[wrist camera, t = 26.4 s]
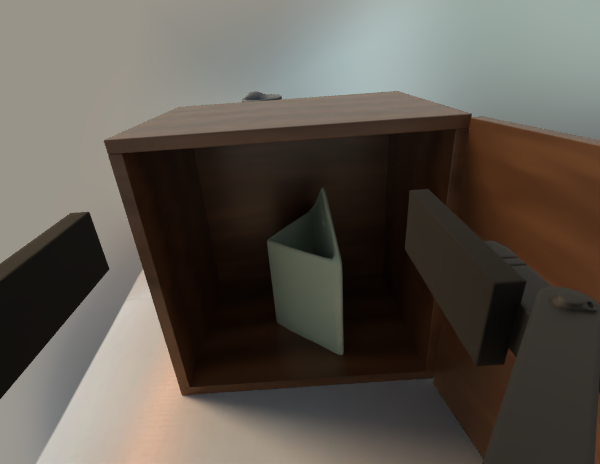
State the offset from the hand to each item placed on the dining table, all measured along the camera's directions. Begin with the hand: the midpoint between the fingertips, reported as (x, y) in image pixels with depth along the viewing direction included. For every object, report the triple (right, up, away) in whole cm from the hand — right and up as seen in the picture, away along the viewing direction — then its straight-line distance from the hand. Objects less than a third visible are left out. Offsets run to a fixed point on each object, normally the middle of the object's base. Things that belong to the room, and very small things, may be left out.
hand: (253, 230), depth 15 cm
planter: (+3, -13, +37) cm, 39 cm away
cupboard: (+3, -14, +38) cm, 40 cm away
